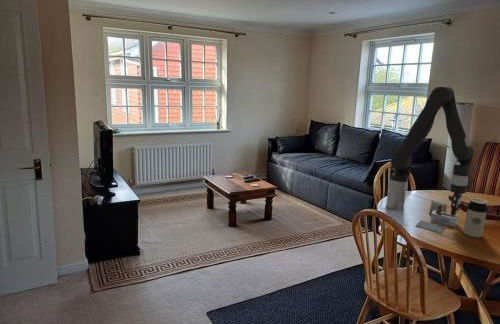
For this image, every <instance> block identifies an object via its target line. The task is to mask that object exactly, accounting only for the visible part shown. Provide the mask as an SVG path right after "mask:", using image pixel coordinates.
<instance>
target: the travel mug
mask: <svg viewBox="0 0 500 324" xmlns="http://www.w3.org/2000/svg"><path fill="white" fill-rule="evenodd" d="M488 203H489V202H488V201H487V200H486V199H483V198H477V197H472V198H469V204H468V205H467V210H466V217H465V222H464V228H463V234H465V235H466V236H468V237H472V238H481V237H482V236H483V232H484V227H485V222H486V217H487V212H488V207H487V205H488Z"/></svg>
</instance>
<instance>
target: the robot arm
mask: <svg viewBox="0 0 500 324" xmlns="http://www.w3.org/2000/svg"><path fill="white" fill-rule="evenodd" d="M441 108H442V110H443V112H444V117H445V124H446V126H445V127H446V130H447V133H448V135H449V138H450V140H451V141H450V142H451V150H452V153H453V156H454V157H455V158H456V162H455V163H454V165H453V170H452V174H451V175H452V176H451V177H450V185H449V191H450V192H452V193H453V194H452V196H451V203H450V208H451V210H450V214H451V215H457V212H458V211H459V210H460V205H461V203H462V198H463V194H466V193H467V190H468V189H467V188H468V181H469V173H470V172H469V171H470V166H471V163H472V160H473V157H474V148H473V147H472V146H471V145H469V144H467V143H466V138H467V135H466V132H465V129H464V127H463V124H462V121H461V118H460V116H459V115H460V114H459V112H458V109H457V108H458V107H457V101H456V96H455V91H454V89H453V88H452V87H451V86H447V85H439V86H436V87H435V88H433V89H432V91H431V92H430V94H429V96H428V99H427V101H426V102H425V105H424V107H423V109H422V110H421V112H420V113H419V115H418V116H417V118H416V119H415V121H414V123H412V126H411V127H410V129H409V131H408V133H407V135H406V136H405V138H404V139H403V141H402V143H401V145H400V147H399V148H397V151H395V152H394V154H393V155H392V157H391V160H390V165H391V167H392V168H393V169H394V170H393V172H392V173H391V175H390V182H389V189H388V191H387V196H386V205H385V208H389V209H390V210H394V211H402V210H404V209H405V202H406V196H407V195H406V194H407V189H408V188H407V187H408V182H409V181H408V180H409V177H410V175H411V169H412V163H413V160H412V156H411V155H412V153H413V152H414V151H415V150H416V149H417V148H418V147H419V146H420V145H421V144H422V143H423V142H424V140H425V139H426V138H427V136H428V135H429V133H430V132H431V130H432V129H433V126H434V122H435V119H436V116H437V114H438V112H439V111H440V110H441Z"/></svg>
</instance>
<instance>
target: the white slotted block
mask: <svg viewBox="0 0 500 324" xmlns="http://www.w3.org/2000/svg"><path fill="white" fill-rule="evenodd" d="M458 220H459V215H457V214H456V215H451V213H448V212H446V213H444V212H441V214H437V211H435V210H434V211H433V212H432V213H430V219H429V221H431V222H432V223H436V224H438V223H439V224H441V225H445V226H451V227H453V228H454V227H456V226H457V224H458Z"/></svg>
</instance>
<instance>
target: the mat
mask: <svg viewBox="0 0 500 324" xmlns="http://www.w3.org/2000/svg"><path fill="white" fill-rule="evenodd" d="M415 227H416V228H421V229H424V230H428V231H432V232H437V233H440V234H441V233H442V232H443V230H444V229H445V228H446V225H443V224H438V223H435V222H429V221H426V220H422V219H421V220H419V222H417V224H415Z"/></svg>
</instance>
